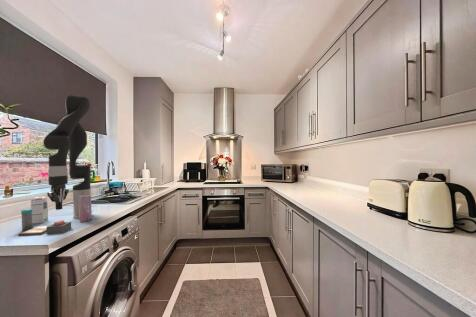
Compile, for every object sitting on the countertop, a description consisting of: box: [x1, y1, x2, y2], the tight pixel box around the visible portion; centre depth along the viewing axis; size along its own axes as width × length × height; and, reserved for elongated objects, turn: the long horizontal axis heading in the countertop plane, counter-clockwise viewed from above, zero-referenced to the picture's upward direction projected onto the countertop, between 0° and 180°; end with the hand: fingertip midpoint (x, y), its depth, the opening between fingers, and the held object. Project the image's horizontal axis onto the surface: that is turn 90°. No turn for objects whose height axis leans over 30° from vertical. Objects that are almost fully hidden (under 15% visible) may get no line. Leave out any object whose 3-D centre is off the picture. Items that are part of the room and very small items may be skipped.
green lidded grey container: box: [20, 208, 34, 232], centre depth 114 cm, size 4×4×10 cm
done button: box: [53, 220, 65, 226], centre depth 111 cm, size 4×4×2 cm
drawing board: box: [17, 225, 48, 237], centre depth 111 cm, size 12×10×1 cm
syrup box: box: [30, 196, 49, 224], centre depth 129 cm, size 6×6×14 cm
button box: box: [46, 221, 72, 235], centre depth 111 cm, size 7×7×4 cm
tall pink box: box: [78, 195, 93, 223], centre depth 129 cm, size 6×6×15 cm
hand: (59, 209), depth 111 cm, fingers closed
